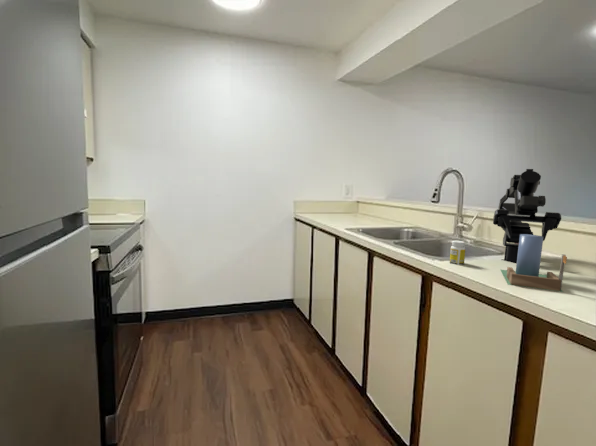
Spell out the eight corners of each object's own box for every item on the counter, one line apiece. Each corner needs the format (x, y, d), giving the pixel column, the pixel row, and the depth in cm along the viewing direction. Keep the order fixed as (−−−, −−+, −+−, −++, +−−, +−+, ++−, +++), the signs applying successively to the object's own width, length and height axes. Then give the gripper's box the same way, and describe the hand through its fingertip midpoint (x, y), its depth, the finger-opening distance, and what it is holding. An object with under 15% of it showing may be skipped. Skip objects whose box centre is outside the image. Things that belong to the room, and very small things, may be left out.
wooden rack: (506, 276, 107) (510, 244, 106) (552, 282, 102) (556, 249, 101) (511, 286, 96) (515, 251, 95) (563, 293, 92) (568, 256, 90)
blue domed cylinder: (510, 275, 109) (515, 234, 107) (524, 273, 111) (528, 233, 109) (529, 280, 103) (534, 237, 101) (543, 279, 105) (548, 237, 103)
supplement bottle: (462, 263, 125) (464, 240, 124) (465, 266, 120) (467, 243, 119) (448, 262, 126) (450, 239, 125) (450, 265, 121) (452, 242, 120)
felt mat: (500, 271, 116) (500, 269, 115) (546, 276, 110) (546, 274, 110) (507, 286, 98) (507, 284, 98) (563, 294, 93) (563, 291, 93)
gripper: (497, 186, 118) (498, 221, 110) (563, 188, 111) (569, 226, 103) (492, 206, 127) (492, 241, 118) (554, 210, 119) (558, 247, 111)
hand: (526, 238), depth 112 cm, fingers open, 9 cm apart
